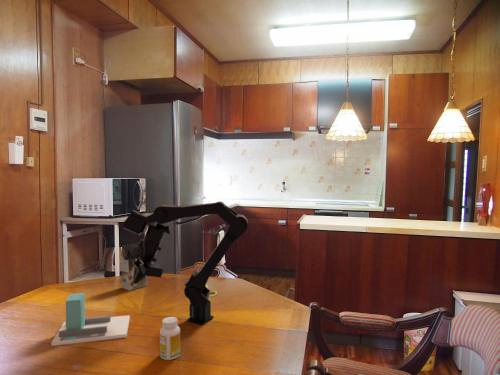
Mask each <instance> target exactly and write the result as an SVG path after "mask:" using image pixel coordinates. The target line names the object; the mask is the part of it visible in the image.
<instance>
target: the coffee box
mask: <svg viewBox="0 0 500 375" xmlns="http://www.w3.org/2000/svg"><path fill="white" fill-rule="evenodd" d="M133 275H134V264H133V262H132V260H131V259H130V260H124V258H123V256H122V255H121V288H122V289H124V290H127V291H133V290H136V289H140V288H143V287H147V286H149V280H148V279H149V278H148V277H149V276H145V277H144V278H142V279H141V280H140V281H139V282H138V283H137V284H134V283H133Z"/></svg>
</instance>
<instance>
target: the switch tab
mask: <svg viewBox="0 0 500 375" xmlns="http://www.w3.org/2000/svg"><path fill="white" fill-rule="evenodd" d="M85 296H86V293H85V292H79V293H78V292H77V293H70V295H69V296H68V297H67V298H66V300H65V322H66V330H74V329H83V328H84V326H85V318H86V297H85Z"/></svg>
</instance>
